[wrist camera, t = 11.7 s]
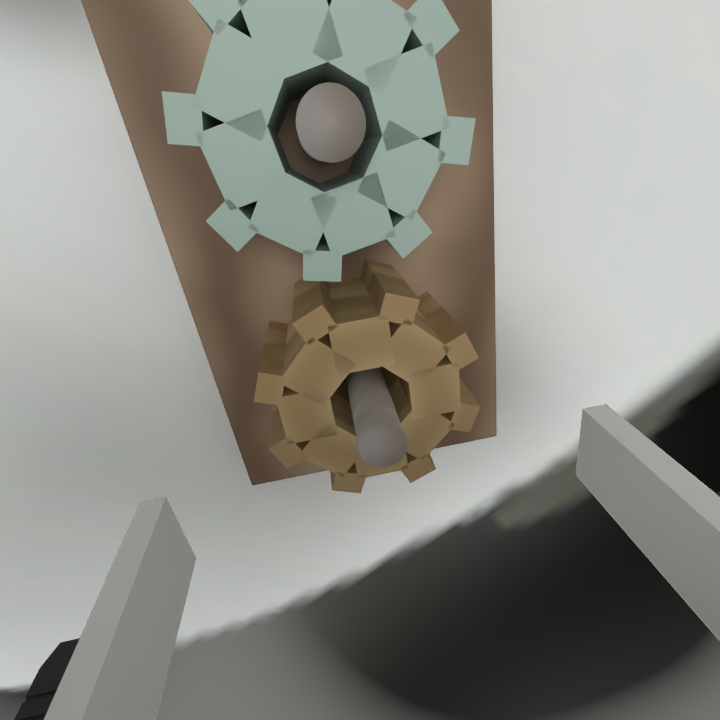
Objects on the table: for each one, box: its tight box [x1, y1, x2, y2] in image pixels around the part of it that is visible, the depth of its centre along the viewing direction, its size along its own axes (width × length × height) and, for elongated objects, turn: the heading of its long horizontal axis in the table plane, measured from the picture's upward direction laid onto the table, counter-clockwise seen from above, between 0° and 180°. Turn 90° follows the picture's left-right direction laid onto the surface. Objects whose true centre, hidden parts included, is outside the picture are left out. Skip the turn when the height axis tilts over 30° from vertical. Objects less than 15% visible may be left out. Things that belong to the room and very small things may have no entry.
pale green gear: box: [162, 0, 476, 282], centre depth 16 cm, size 10×10×6 cm
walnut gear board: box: [81, 0, 496, 485], centre depth 18 cm, size 16×26×11 cm, turn 9°
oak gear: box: [254, 259, 481, 493], centre depth 21 cm, size 10×10×6 cm
